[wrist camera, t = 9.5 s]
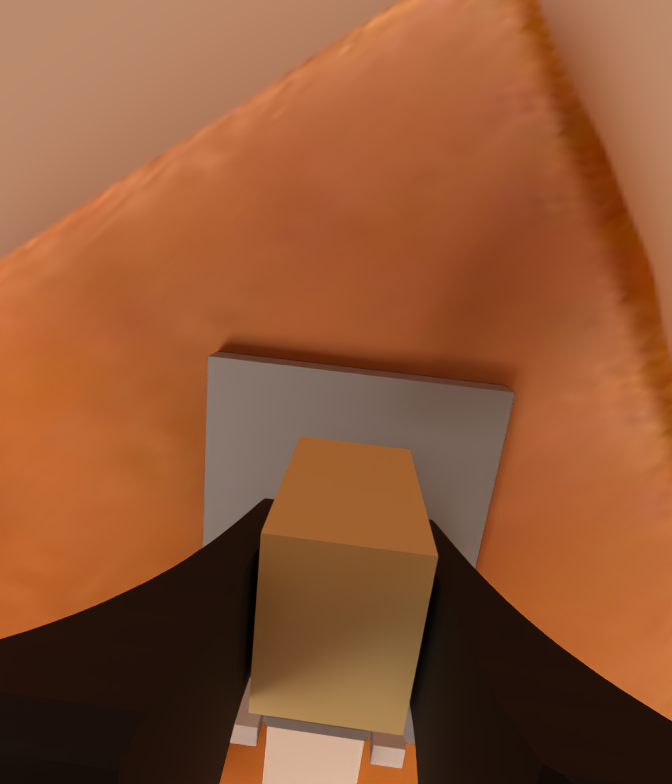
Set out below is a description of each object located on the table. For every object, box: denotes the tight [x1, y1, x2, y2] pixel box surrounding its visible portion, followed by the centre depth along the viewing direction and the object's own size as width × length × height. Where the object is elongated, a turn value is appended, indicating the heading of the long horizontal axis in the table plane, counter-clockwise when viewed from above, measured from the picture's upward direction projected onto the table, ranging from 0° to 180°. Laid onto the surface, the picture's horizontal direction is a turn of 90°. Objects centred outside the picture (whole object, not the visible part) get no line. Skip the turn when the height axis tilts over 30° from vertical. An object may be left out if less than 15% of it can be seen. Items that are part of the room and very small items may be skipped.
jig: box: [203, 351, 515, 768], centre depth 20 cm, size 20×13×4 cm, turn 174°
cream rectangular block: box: [262, 716, 369, 784], centre depth 19 cm, size 12×4×5 cm, turn 174°
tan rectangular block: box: [249, 436, 438, 736], centre depth 10 cm, size 4×3×5 cm
